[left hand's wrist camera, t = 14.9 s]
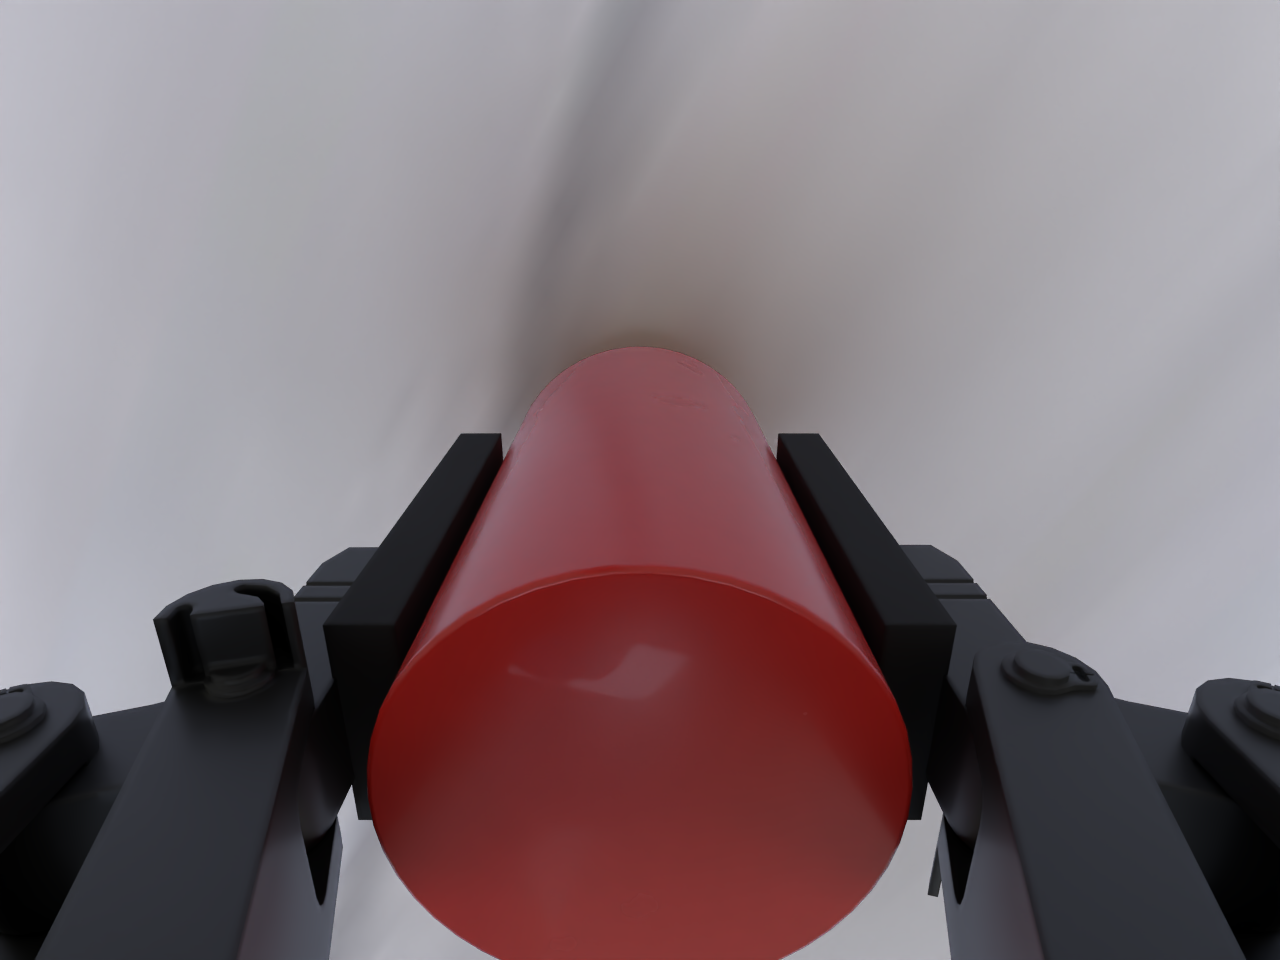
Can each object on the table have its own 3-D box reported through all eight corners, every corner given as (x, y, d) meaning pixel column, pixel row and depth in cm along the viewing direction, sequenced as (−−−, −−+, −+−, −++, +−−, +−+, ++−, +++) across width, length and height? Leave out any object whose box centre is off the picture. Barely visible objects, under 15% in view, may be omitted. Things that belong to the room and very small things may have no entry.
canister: (497, 357, 15) (301, 592, 6) (760, 334, 14) (931, 542, 6) (534, 587, 17) (422, 1007, 8) (767, 569, 16) (902, 978, 8)
